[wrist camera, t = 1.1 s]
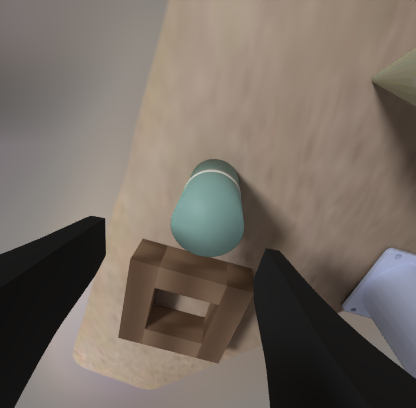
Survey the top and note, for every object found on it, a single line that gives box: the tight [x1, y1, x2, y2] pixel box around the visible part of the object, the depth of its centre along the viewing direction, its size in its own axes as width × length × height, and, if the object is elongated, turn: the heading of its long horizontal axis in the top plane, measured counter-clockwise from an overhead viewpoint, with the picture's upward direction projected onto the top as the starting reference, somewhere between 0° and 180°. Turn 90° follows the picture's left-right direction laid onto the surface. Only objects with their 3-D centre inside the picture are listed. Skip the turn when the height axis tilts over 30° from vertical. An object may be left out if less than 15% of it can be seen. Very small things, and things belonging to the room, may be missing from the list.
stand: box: [118, 239, 254, 363], centre depth 23 cm, size 11×11×3 cm
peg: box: [171, 159, 244, 257], centre depth 15 cm, size 4×4×7 cm
